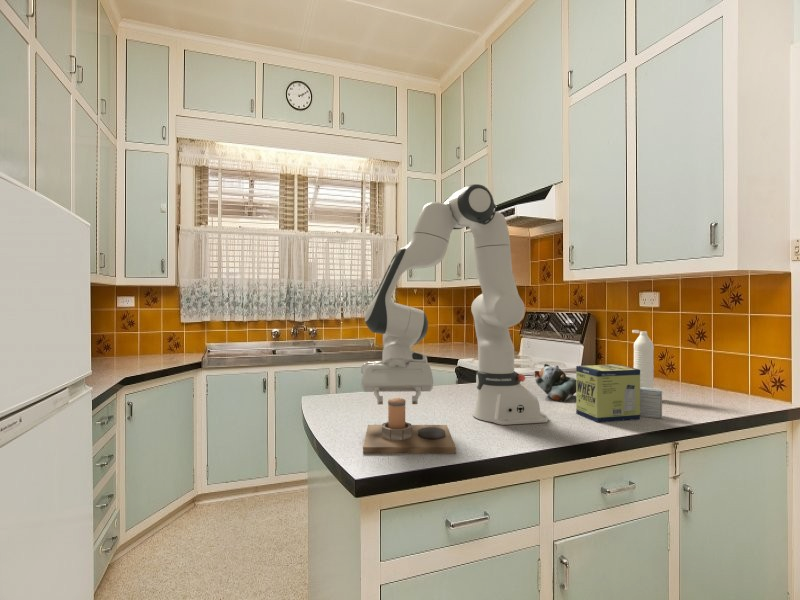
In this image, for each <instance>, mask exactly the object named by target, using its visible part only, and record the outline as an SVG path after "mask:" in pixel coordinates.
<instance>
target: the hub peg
mask: <svg viewBox="0 0 800 600" xmlns="http://www.w3.org/2000/svg"><path fill="white" fill-rule="evenodd" d="M387 404H388V405H387V406H388V407H387V413H388V414H387V415H388V417H387V422H388V428H390V429H403V428H405V422H406V399H404V398H399V397H398V398H397V397H396V398H390V399H388V401H387Z"/></svg>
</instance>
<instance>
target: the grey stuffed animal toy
mask: <svg viewBox="0 0 800 600" xmlns="http://www.w3.org/2000/svg"><path fill="white" fill-rule="evenodd" d="M534 380H535V381H534V382H535V383H536V385H537V386H538V387H539V388H540V389H541V390H542V391H543V392H544V394H546V395H548V396H549V397H550V398H551V400H553V401H555V402H565V401H567V400H569V399H570V398H572V397H573V396H574V395H576V378H574V377H572V376H567V374H566V373H565V372H564V371H563V370H562V369H561V368H560V367H559V365H558V364H555V365H553V366H552V365H549V364H547V363H545V364H544V365H543V367H542V368H541V370H535V371H534Z"/></svg>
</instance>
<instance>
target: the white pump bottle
mask: <svg viewBox="0 0 800 600" xmlns="http://www.w3.org/2000/svg"><path fill="white" fill-rule="evenodd" d="M631 332H632V334H639V335H638V337H637V338H636V340H635V341H634V342H633V368H635V369H639V370H640V387H649V388H654V384H655V383H654V371H655V370H654V369H655V368H654V367H655V365H654V364H655V363H654V361H655V360H654V352H655V351H654V350H655V349H654V347H655V345H654V343H653V341H652V339H651V338H650V337H649V335H648V331H645V330H644V331H643V330H639V329H632V330H631Z"/></svg>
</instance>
